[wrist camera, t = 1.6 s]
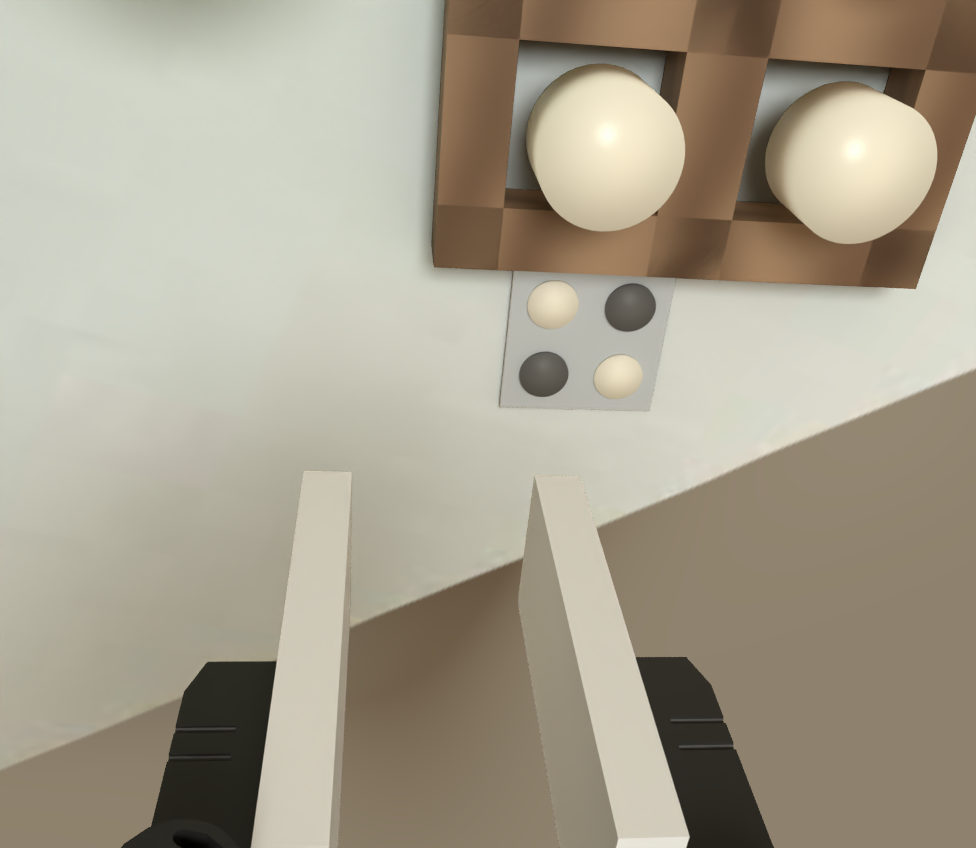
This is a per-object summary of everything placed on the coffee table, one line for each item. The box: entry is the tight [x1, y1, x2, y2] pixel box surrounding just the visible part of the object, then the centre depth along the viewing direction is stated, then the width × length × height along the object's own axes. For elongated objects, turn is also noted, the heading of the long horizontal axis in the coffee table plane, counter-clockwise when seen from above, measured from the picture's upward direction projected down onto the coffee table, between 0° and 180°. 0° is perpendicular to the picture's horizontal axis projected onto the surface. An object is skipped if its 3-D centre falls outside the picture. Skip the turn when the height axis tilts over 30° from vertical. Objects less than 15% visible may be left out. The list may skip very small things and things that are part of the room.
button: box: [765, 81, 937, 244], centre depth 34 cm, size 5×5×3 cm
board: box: [432, 0, 976, 289], centre depth 33 cm, size 20×20×2 cm
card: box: [499, 271, 676, 411], centre depth 41 cm, size 7×7×1 cm
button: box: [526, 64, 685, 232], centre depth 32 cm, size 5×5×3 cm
